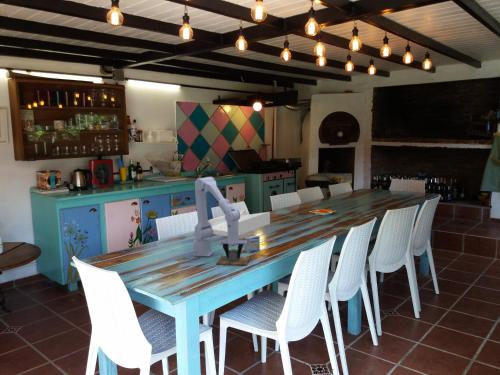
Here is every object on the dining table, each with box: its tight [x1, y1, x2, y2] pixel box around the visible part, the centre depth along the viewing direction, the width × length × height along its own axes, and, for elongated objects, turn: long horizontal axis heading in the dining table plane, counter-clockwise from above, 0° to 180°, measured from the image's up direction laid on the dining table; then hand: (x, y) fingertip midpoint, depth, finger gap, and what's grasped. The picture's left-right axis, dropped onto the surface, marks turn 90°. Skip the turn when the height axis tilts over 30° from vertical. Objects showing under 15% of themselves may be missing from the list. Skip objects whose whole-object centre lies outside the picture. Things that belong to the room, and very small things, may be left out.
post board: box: [215, 255, 251, 267], centre depth 215 cm, size 16×12×5 cm
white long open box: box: [208, 209, 271, 237], centre depth 289 cm, size 45×22×10 cm, turn 146°
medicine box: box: [243, 234, 261, 254], centre depth 233 cm, size 8×4×9 cm, turn 126°
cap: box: [228, 248, 239, 262], centre depth 215 cm, size 5×5×6 cm
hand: (233, 257), depth 215 cm, fingers closed on cap, 5 cm apart
